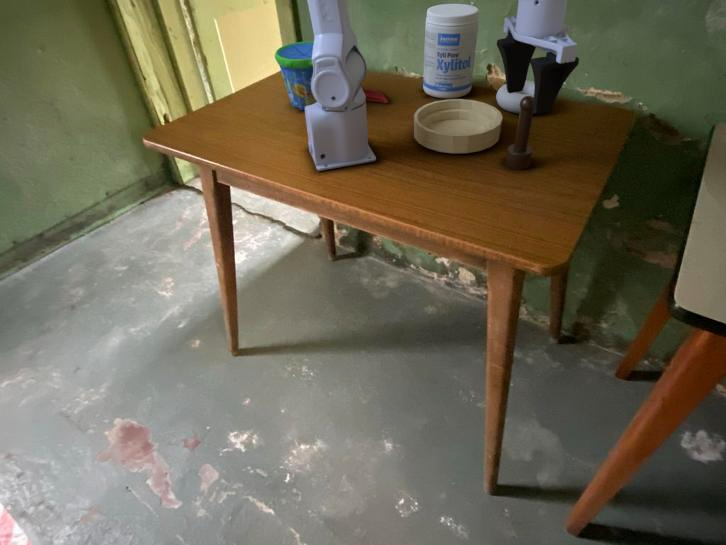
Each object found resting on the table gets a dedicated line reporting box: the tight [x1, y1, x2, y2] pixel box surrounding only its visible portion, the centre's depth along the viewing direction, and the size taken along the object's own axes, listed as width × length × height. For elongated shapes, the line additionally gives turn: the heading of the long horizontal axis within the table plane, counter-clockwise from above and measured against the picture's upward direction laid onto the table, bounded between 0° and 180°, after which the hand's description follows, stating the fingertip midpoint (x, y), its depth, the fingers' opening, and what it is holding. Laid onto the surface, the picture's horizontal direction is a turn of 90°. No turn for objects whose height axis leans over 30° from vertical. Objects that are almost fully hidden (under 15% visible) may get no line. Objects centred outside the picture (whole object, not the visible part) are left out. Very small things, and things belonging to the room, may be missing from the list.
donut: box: [495, 80, 536, 115], centre depth 89 cm, size 10×4×10 cm
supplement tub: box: [422, 3, 480, 100], centre depth 93 cm, size 10×10×15 cm
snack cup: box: [274, 40, 317, 111], centre depth 93 cm, size 16×10×10 cm
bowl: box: [413, 98, 504, 154], centre depth 81 cm, size 14×14×4 cm
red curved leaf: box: [362, 88, 389, 104], centre depth 96 cm, size 12×5×2 cm, turn 50°
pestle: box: [505, 96, 534, 171], centre depth 71 cm, size 4×4×10 cm
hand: (527, 101), depth 68 cm, fingers open, 7 cm apart
